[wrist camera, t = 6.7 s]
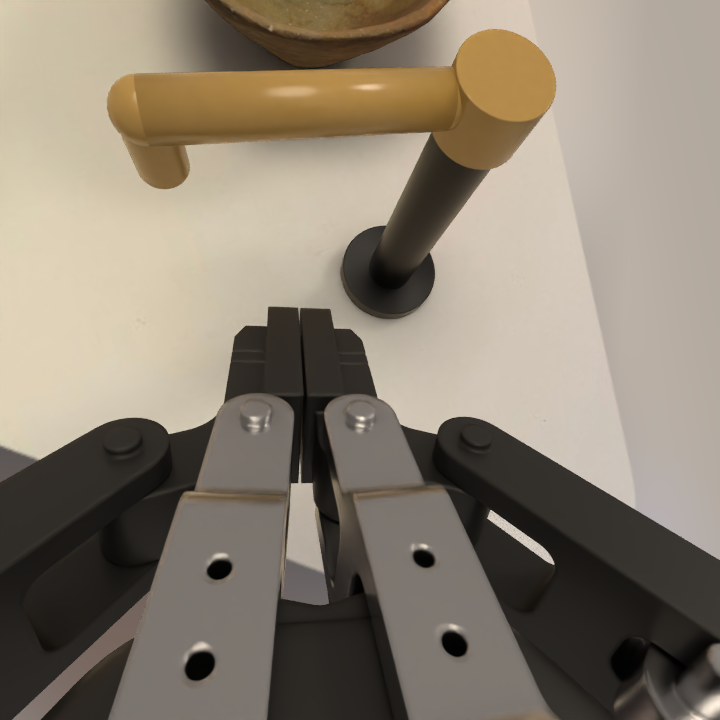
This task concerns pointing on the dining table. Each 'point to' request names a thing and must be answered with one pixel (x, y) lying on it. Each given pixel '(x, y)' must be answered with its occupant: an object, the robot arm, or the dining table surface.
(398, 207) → the black post with base
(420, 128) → the spout
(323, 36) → the bowl
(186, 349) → the dining table surface
